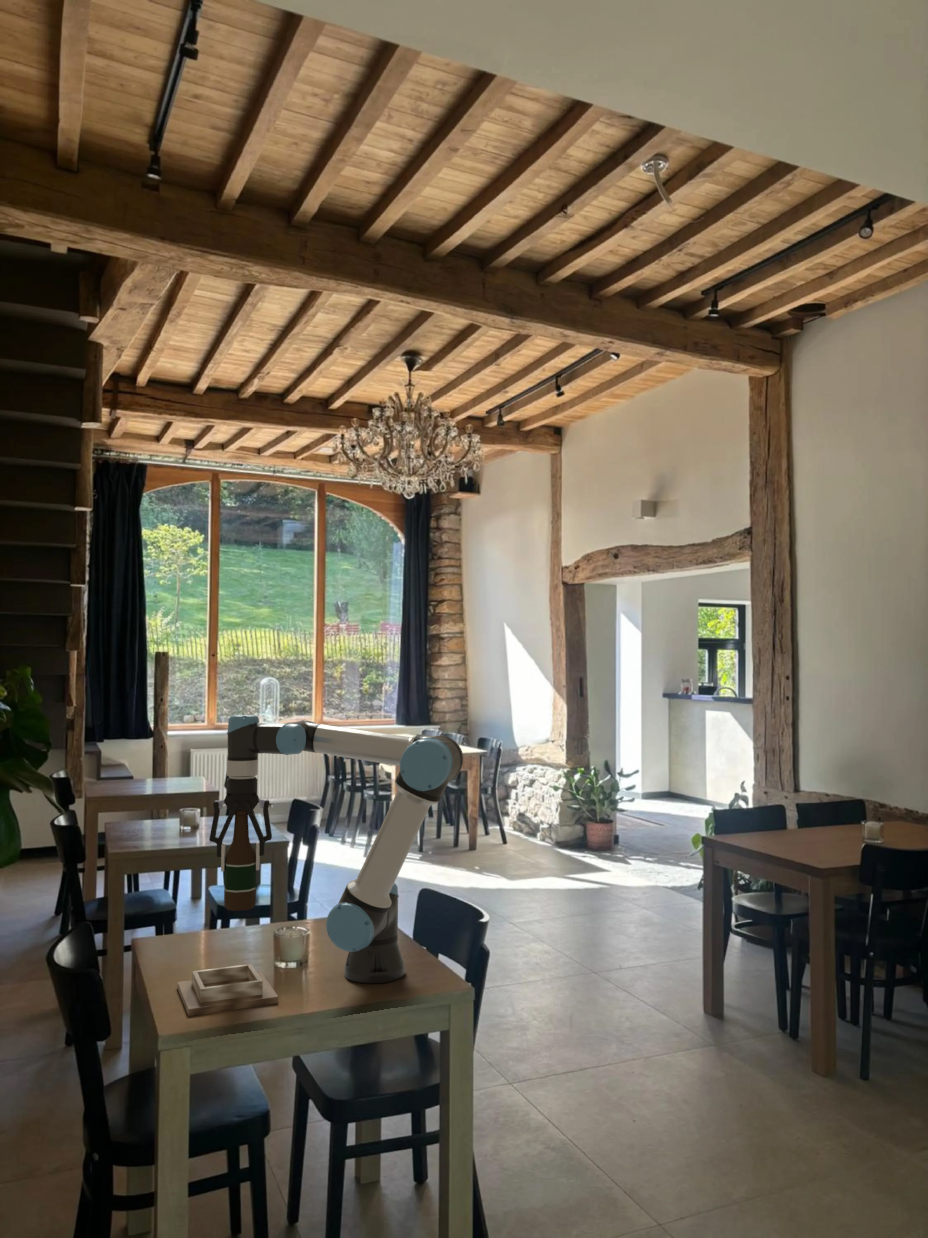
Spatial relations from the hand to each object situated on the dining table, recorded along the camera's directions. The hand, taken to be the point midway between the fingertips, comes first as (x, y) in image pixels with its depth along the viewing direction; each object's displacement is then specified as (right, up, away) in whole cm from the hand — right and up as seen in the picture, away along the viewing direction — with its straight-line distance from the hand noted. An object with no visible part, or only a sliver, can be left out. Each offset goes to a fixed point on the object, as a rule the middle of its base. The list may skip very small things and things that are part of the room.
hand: (240, 869), depth 228 cm
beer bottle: (0, -9, 0) cm, 9 cm away
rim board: (0, -27, -11) cm, 29 cm away
